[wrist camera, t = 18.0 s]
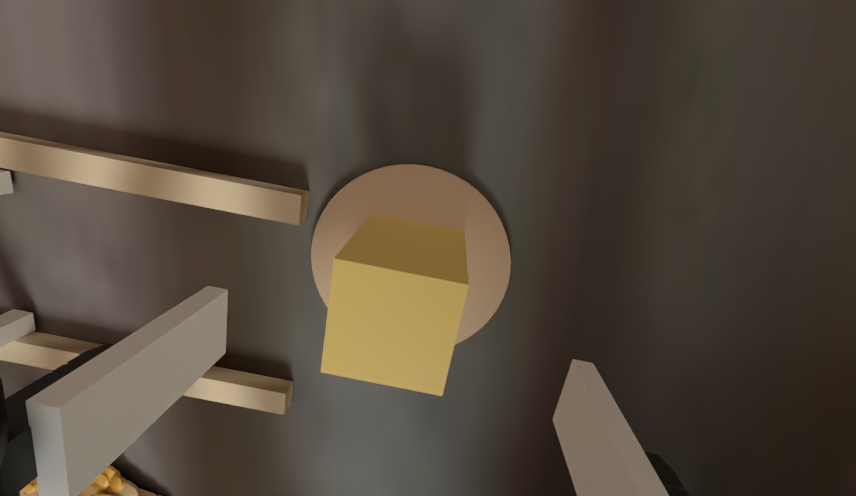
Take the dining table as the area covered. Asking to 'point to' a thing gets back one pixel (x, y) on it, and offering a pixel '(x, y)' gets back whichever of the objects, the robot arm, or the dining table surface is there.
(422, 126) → the dining table surface
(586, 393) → the robot arm
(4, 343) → the cover
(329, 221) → the mat
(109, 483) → the green toy figure
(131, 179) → the track
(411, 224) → the block
